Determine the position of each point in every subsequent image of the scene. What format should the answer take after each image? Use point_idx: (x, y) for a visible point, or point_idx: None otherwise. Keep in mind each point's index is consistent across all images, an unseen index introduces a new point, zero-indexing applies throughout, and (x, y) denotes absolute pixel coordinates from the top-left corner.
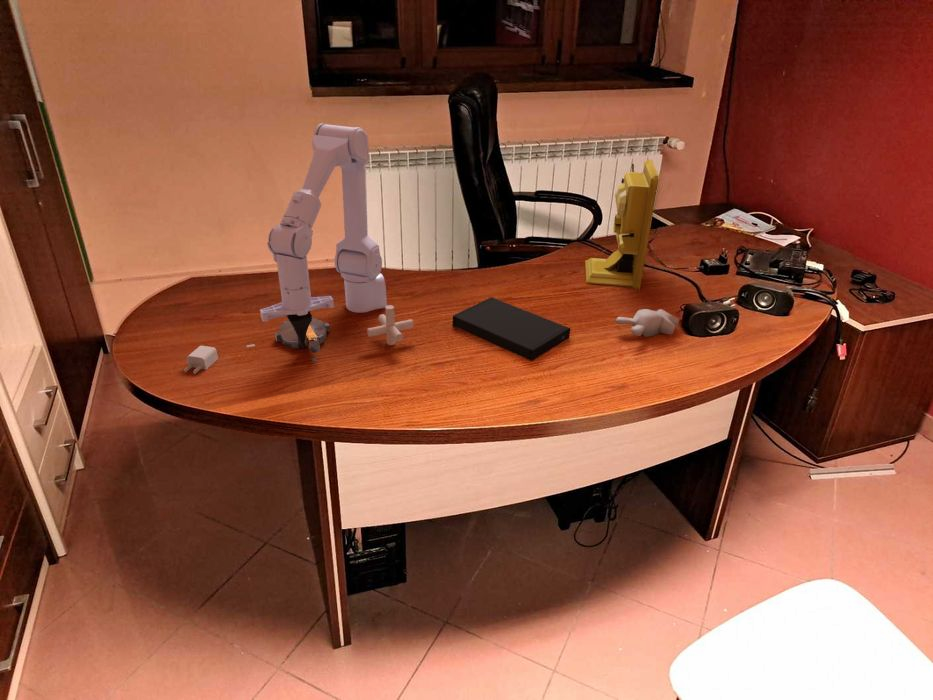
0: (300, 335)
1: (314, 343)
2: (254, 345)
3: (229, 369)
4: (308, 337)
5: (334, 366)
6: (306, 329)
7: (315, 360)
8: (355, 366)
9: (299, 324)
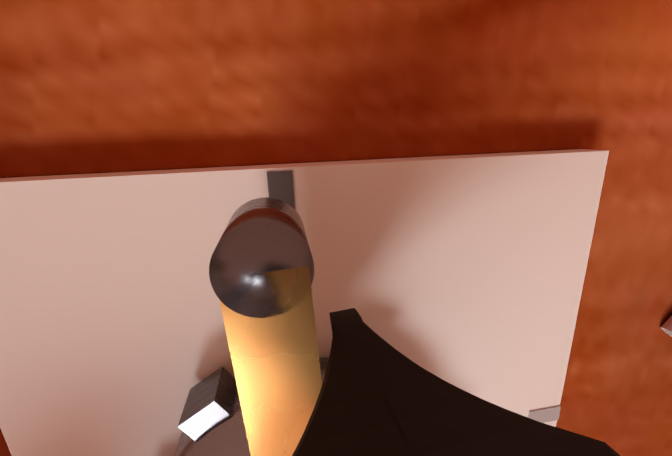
0: (384, 351)
1: (265, 217)
2: (530, 414)
3: (640, 273)
4: (308, 325)
5: (162, 143)
6: (328, 401)
7: (274, 193)
8: (6, 92)
9: (464, 452)
